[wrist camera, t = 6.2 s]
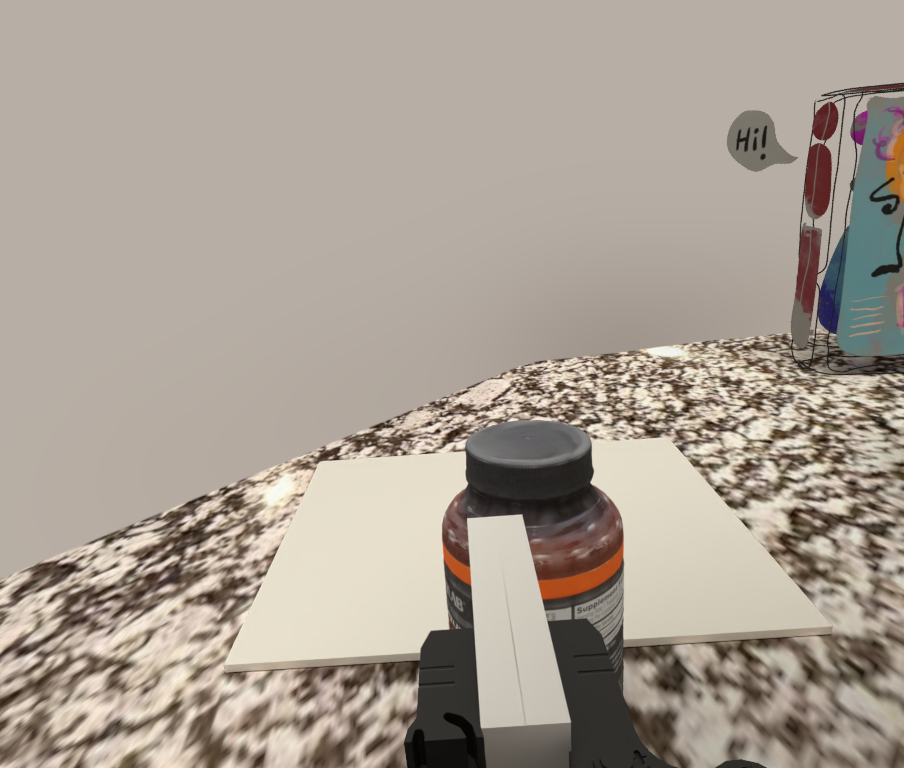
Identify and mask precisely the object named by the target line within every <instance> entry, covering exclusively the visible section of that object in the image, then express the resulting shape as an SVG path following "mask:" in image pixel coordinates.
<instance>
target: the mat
mask: <svg viewBox="0 0 904 768" xmlns="http://www.w3.org/2000/svg"><path fill="white" fill-rule="evenodd" d="M592 465H593V468H594V474H593V478H592V480H591V482H590V483H591V484H592V485H594V486H596V487H597V488H599V489H600V490H602V491H603V492H604V493H606V495H607V496H608V497H609V498H610V499H611V500H612V501H613V502H614V504H615V505H616V507H617V508H618V510H619V512H620V515H621V518H622V524H623V533H624V554H623V558H624V614H623V618H624V621H623V627H624V629H623V638H624V644H623V647H636V646H651V645H667V644H683V643H699V642H714V641H730V640H746V639H762V638H777V637H793V636H809V635H825V634H832V628H833V626H832V625H831V624H830V623H829V621H828V620H827V619H826V618H825V617H824V616H823V615H822V613H821V612H820V611H819V610H818V609H817V608H816V607H815V605H814V604H813V603H812V602H811V601H810V600H809V599H808V597H807V596H806V595H805V594H804V593H803V592H802V591H801V589H800V588H799V587H798V586H797V585H796V584H795V582H794V581H793V580H792V579H791V578H790V577H789V576H788V574H787V573H786V572H785V571H784V570H783V569H782V568H781V566H780V565H779V564H778V563H777V562H776V561H775V560H774V558H773V557H772V556H771V555H770V554H769V553H768V552H767V550H766V549H765V548H764V547H763V546H762V545H761V544H760V542H759V541H758V540H757V539H756V538H755V537H754V536H753V534H752V533H751V532H750V531H749V530H748V529H747V528H746V526H745V525H744V524H743V523H742V522H741V521H740V520H739V518H738V517H737V516H736V515H735V514H734V513H733V511H732V510H731V509H730V508H729V507H728V506H727V505H726V503H725V502H724V501H723V500H722V499H721V498H720V497H719V495H718V494H717V493H716V492H715V491H714V490H713V489H712V487H711V486H710V485H709V484H708V483H707V482H706V481H705V479H704V478H703V477H702V476H701V475H700V474H699V473H698V471H697V470H696V469H695V468H694V467H693V466H692V465H691V463H690V462H689V461H688V460H687V459H686V458H685V457H684V455H683V454H682V453H681V452H680V451H679V450H678V449H677V447H676V446H675V445H674V444H673V443H672V442H671V440H670V439H669V438H668V437H664V438H649V439H635V440H621V441H607V442H592ZM465 471H466V452H465V451H464V452H450V453H436V454H422V455H407V456H393V457H379V458H365V459H351V460H336V461H322V462H319V464H318V467H317V469H316V471H315V473H314V475H313V477H312V479H311V481H310V483H309V486H308V488H307V490H306V492H305V494H304V496H303V498H302V500H301V503H300V505H299V507H298V509H297V511H296V513H295V515H294V517H293V519H292V522H291V524H290V526H289V528H288V530H287V532H286V534H285V536H284V539H283V541H282V543H281V545H280V547H279V549H278V551H277V553H276V555H275V558H274V560H273V562H272V564H271V566H270V568H269V570H268V572H267V575H266V577H265V579H264V581H263V583H262V585H261V587H260V589H259V592H258V594H257V596H256V598H255V600H254V602H253V604H252V606H251V608H250V611H249V613H248V615H247V617H246V619H245V621H244V623H243V625H242V628H241V630H240V632H239V634H238V636H237V638H236V640H235V642H234V644H233V647H232V649H231V651H230V653H229V655H228V657H227V659H226V661H225V664H224V668H225V672H242V671H258V670H274V669H289V668H305V667H321V666H336V665H352V664H368V663H384V662H399V661H415V660H420V650H421V647H422V645H423V643H424V641H425V640H426V638H427V636H428V634H429V633H430V631H433V630H447V629H449V618H448V609H447V595H446V584H445V571H444V555H443V543H442V523H443V518H444V515H445V512H446V510H447V508H448V506H449V504H450V503H451V501H452V500H453V499H454V497H455V496H456V495H457V494H459V493H460V492H461V491H462V490H464V489H465V488H466V487H467V485H468V482H467V480H466V473H465Z"/></svg>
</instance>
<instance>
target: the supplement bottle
mask: <svg viewBox="0 0 904 768" xmlns="http://www.w3.org/2000/svg"><path fill="white" fill-rule="evenodd" d="M465 452H466V471H465V473H466V480H467V482H468V485H467V487H466V488H465V489H464V490H462V491H461V492H460V493H459V494H457V495H456V496H455V497H454V499H453V500H452V501H451V503H450V504H449V506H448V508H447V510H446V512H445V515H444V518H443V523H442V543H443V555H444V571H445V584H446V595H447V609H448V618H449V629H462V628H474V617H473V602H472V587H471V571H470V556H469V541H468V525H467V518H480V517H494V516H508V515H522V516H523V520H524V524H525V529H526V533H527V537H528V542H529V546H530V550H531V554H532V559H533V563H534V567H535V571H536V576H537V580H538V584H539V588H540V593H541V597H542V601H543V605H544V610H545V614H546V618H547V621H555V620H569V619H583V618H587V619H588V620H589V621H590V622H591V624H592V625H593V626H594V627H595V628H596V629H597V630H598V631H599V632H600V633H601V634H602V637H603V640H604V643H605V646H606V648H607V651H608V656H609V657H610V660H611V663H612V666H613V668H614V673H615V674H616V677H617V680H618V683H619V686H620V688H621V691H622V694H623V668H624V666H623V644H624V638H623V629H624V627H623V621H624V618H623V614H624V558H623V554H624V533H623V524H622V518H621V515H620V512H619V510H618V508H617V507H616V505H615V504H614V502H613V501H612V500H611V499H610V498H609V497H608V496H607V495H606V493H604V492H603V491H602V490H600V489H599V488H597V487H596V486H594V485H592V484H591V483H590V482H591V480H592V478H593V474H594V468H593V465H592V443H591V440H590V437H589V436H588V435H587V434H586V433H585V432H583V431H582V430H581V429H579V428H577V427H574V426H572V425H566V424H563V423H558V422H552V421H542V420H532V421H530V420H521V421H511V422H505V423H500V424H497V425H492V426H490V427H486V428H484V429H481V430H479V431H477V432H476V433H474V434H473V435H471V436H470V437H469V438H468V440H467V442H466V448H465Z"/></svg>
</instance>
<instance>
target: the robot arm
mask: <svg viewBox="0 0 904 768" xmlns="http://www.w3.org/2000/svg"><path fill="white" fill-rule="evenodd" d="M467 525H468V541H469V556H470V571H471V587H472V602H473V617H474V628H462V629H447V630H433V631H430V633H429V634H428V636H427V638H426V640H425V641H424V643H423V645H422V647H421V650H420V672H419V688H418V705H417V718H416V719H415V721H414V722H413V723H412V724H411V726H410V727H409V728H408V731H407V734H406V737H405V741H404V745H405V753H406V760H407V768H677V767H674V766H671V765H669V764H667V763H665V762H663V761H661V760H660V759H658V758H657V757H656V756H654V755H653V754H652V753H651V752H649V751H648V749H647V748H646V747H645V746H644V745H643V744H642V742H641V741H640V739H639V737H638V735H637V733H636V731H635V729H634V726H633V723H632V720H631V717H630V714H629V711H628V709H627V706H626V703H625V700H624V697H623V694H622V691H621V688H620V686H619V683H618V680H617V677H616V674H615V673H614V668H613V666H612V663H611V660H610V657H609V656H608V651H607V648H606V646H605V643H604V640H603V637H602V634H601V633H600V632H599V631H598V630H597V629H596V628H595V627H594V626H593V625H592V624H591V622H590V621H589V620H588V619H587V618H583V619H569V620H555V621H547V618H546V614H545V610H544V605H543V601H542V597H541V593H540V588H539V584H538V580H537V576H536V571H535V567H534V563H533V559H532V554H531V550H530V546H529V542H528V537H527V533H526V529H525V524H524V520H523V516H522V515H508V516H494V517H480V518H467ZM716 768H766V767H764V766H762V765H761V764H759V763H755V762H750V761H746V760H742V759H741V760H731V761H725V762H724V763H722V764H721V765H719V766H717V767H716Z"/></svg>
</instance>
